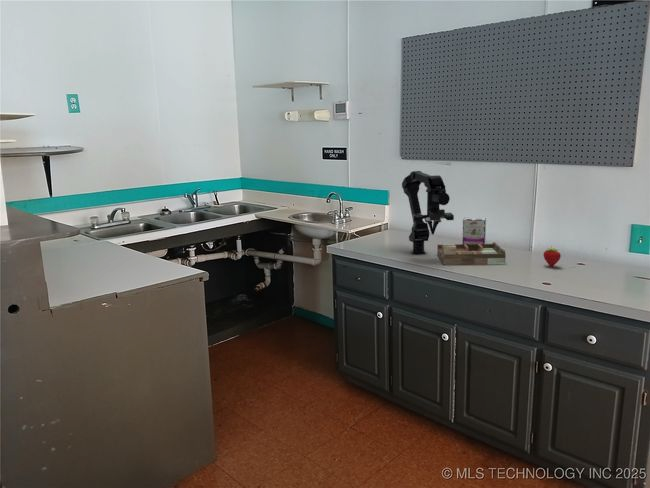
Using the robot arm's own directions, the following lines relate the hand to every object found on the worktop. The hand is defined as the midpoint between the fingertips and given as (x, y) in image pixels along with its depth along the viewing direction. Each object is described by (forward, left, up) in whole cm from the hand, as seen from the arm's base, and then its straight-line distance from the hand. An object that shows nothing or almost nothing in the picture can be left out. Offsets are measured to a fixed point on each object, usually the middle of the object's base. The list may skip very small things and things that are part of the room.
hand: (432, 234), depth 243 cm
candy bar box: (-19, +24, -13) cm, 33 cm away
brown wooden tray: (0, +18, -13) cm, 22 cm away
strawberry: (+15, +51, -13) cm, 55 cm away
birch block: (0, +8, -10) cm, 12 cm away
